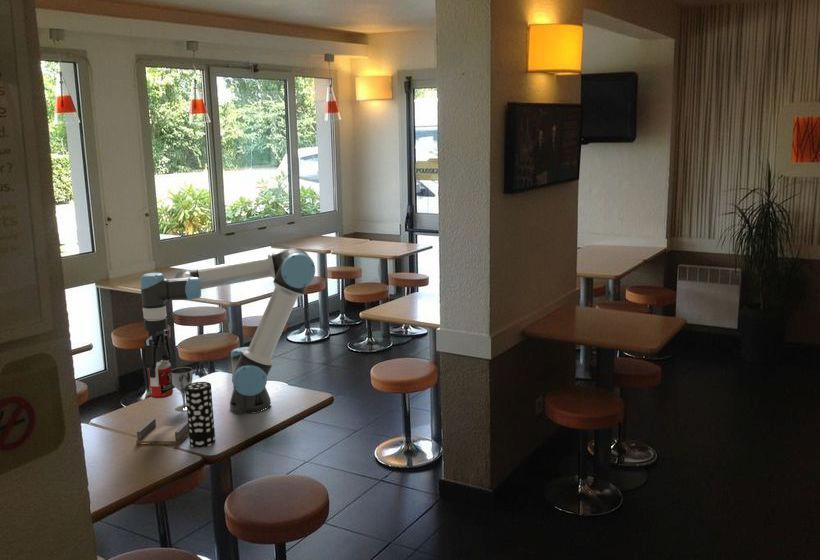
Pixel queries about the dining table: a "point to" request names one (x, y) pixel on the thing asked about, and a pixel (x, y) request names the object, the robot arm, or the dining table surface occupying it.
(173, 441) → the holder
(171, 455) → the dining table surface
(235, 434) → the dining table surface
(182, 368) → the wine glass
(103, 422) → the dining table surface
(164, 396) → the canned food
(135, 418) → the dining table surface
